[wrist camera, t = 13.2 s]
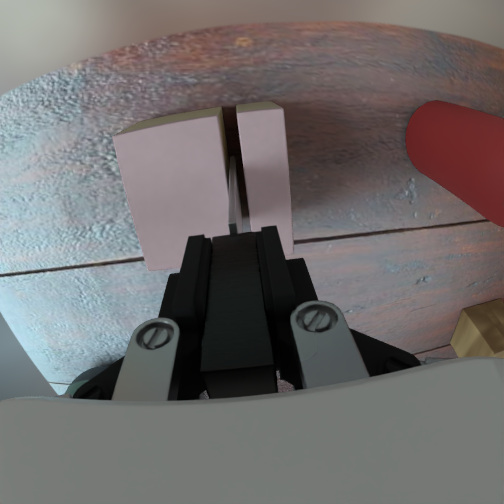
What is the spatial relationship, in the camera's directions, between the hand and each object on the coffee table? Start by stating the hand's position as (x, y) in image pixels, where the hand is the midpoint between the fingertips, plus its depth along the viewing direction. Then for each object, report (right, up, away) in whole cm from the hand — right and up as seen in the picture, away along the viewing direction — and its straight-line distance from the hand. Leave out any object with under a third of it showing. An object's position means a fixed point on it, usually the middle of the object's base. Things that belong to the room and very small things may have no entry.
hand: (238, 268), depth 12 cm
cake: (-4, +7, +12) cm, 14 cm away
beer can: (+16, +10, +11) cm, 22 cm away
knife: (-1, +5, +9) cm, 11 cm away
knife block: (+30, -8, +23) cm, 38 cm away
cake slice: (+1, +7, +12) cm, 14 cm away
